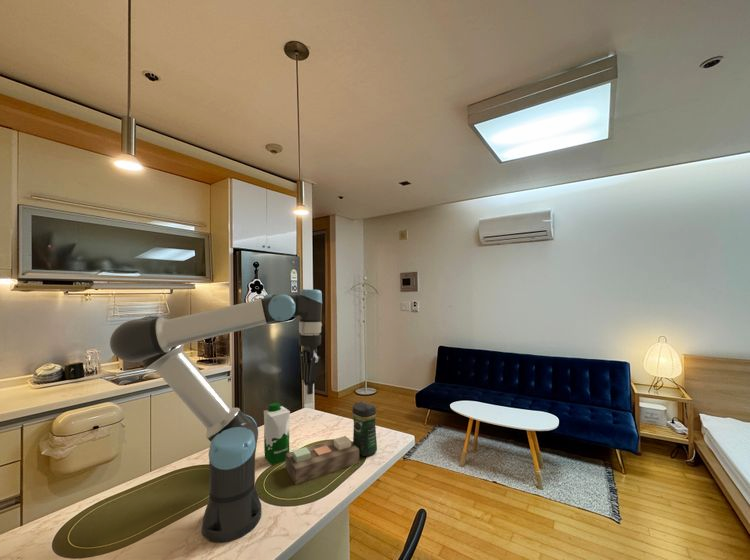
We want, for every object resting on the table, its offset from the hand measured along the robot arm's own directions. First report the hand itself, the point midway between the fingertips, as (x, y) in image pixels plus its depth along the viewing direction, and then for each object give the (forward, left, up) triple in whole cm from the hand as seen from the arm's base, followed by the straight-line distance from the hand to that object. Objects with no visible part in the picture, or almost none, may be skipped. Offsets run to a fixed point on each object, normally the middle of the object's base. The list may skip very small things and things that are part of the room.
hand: (308, 402), depth 108 cm
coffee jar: (+25, +6, -26) cm, 36 cm away
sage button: (-1, +5, -22) cm, 23 cm away
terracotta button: (+7, +5, -24) cm, 25 cm away
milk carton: (-6, +19, -26) cm, 33 cm away
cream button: (+15, +5, -22) cm, 27 cm away
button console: (+7, +5, -26) cm, 27 cm away
